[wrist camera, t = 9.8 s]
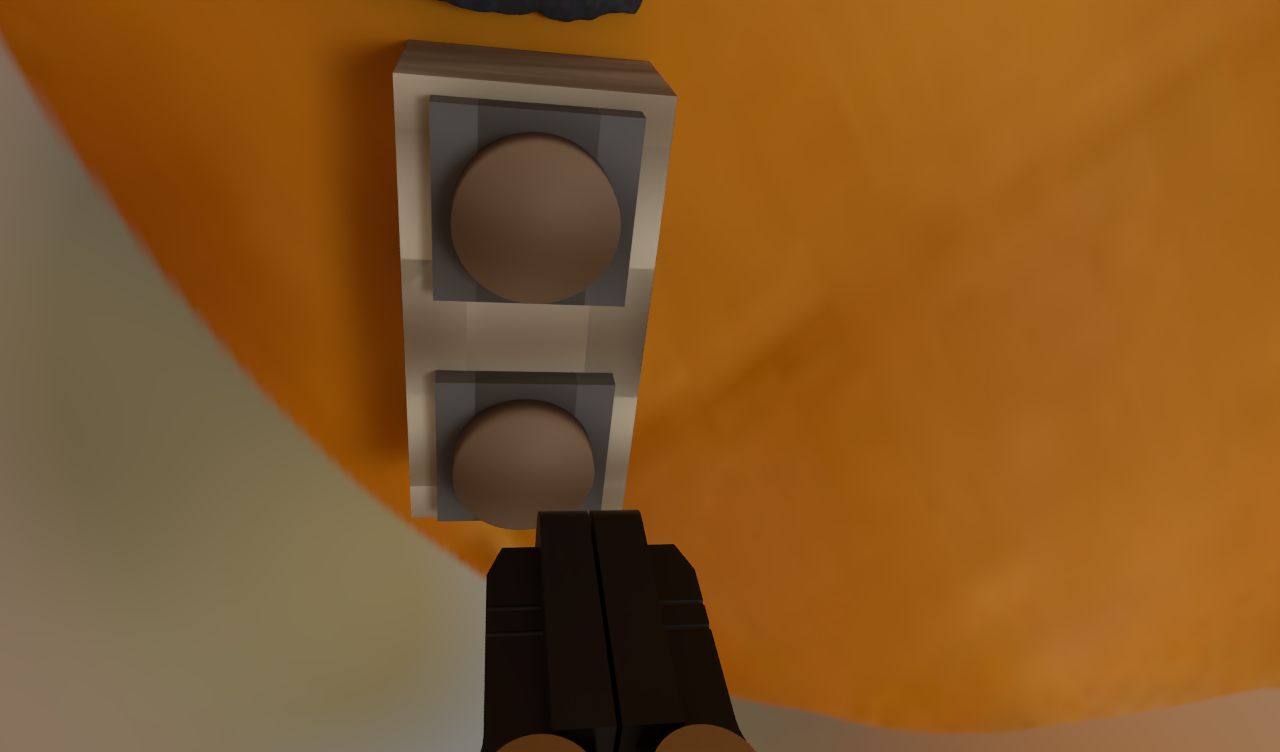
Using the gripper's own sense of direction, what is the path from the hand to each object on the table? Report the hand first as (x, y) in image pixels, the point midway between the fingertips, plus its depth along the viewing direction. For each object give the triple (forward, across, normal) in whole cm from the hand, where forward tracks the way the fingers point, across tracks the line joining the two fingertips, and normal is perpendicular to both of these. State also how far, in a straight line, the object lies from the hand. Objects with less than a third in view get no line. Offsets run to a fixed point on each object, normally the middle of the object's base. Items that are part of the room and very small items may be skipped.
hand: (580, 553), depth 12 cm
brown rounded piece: (+20, 0, 0) cm, 20 cm away
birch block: (+20, 0, +5) cm, 20 cm away
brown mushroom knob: (+20, 0, +9) cm, 22 cm away
